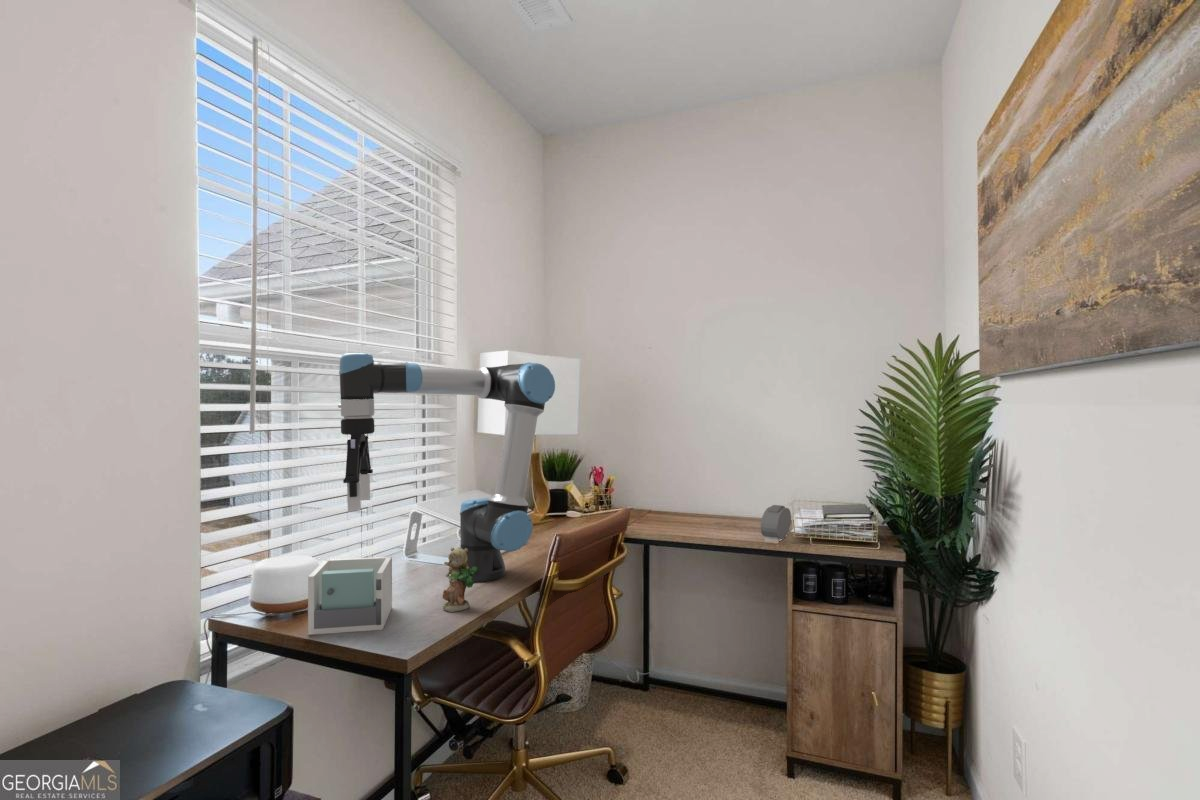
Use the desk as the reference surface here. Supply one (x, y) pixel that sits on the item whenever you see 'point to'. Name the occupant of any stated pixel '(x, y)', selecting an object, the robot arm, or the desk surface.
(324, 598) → the door
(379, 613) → the cabinet
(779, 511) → the alarm clock
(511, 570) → the desk surface
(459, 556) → the figurine
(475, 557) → the robot arm
